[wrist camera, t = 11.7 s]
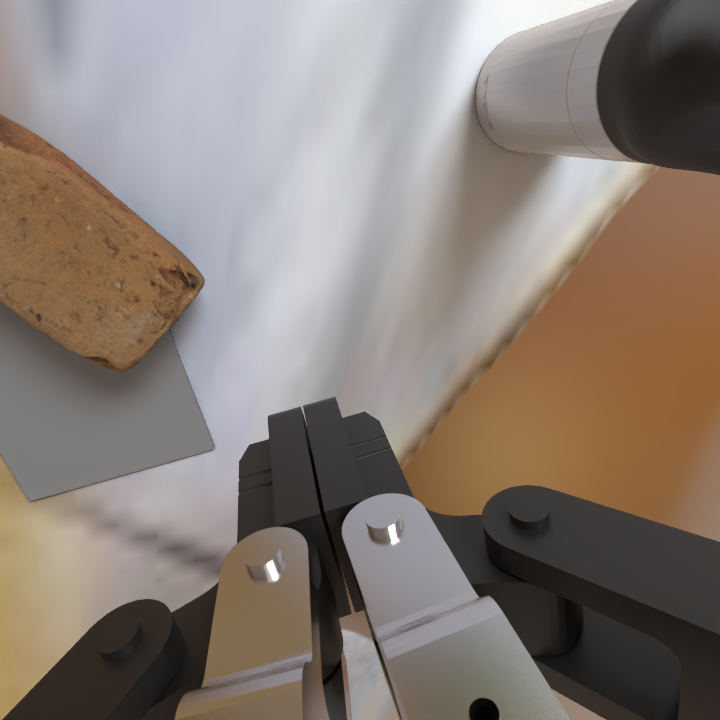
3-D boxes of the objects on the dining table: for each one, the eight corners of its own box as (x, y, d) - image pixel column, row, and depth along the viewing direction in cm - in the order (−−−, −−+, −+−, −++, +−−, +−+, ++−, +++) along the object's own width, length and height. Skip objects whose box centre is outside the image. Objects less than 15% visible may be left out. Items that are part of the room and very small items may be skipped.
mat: (128, 228, 44) (127, 229, 43) (215, 446, 53) (214, 448, 52) (-100, 283, 42) (-103, 285, 41) (31, 498, 51) (29, 501, 51)
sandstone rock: (110, 394, 40) (-165, 196, 33) (135, 361, 47) (-88, 193, 40) (207, 289, 38) (-60, 60, 32) (217, 272, 45) (0, 81, 39)
